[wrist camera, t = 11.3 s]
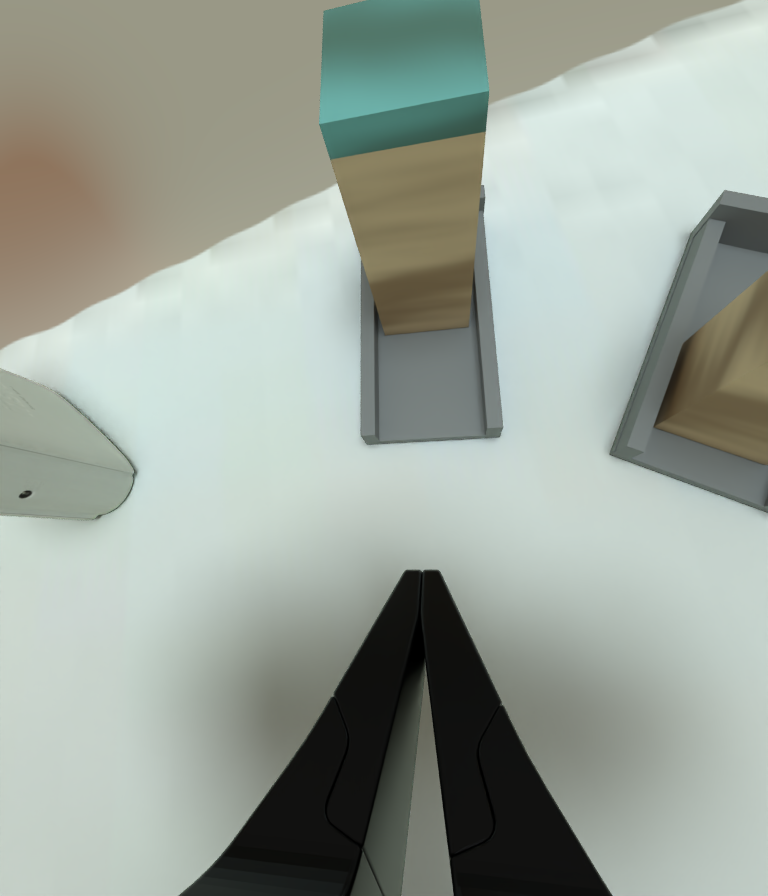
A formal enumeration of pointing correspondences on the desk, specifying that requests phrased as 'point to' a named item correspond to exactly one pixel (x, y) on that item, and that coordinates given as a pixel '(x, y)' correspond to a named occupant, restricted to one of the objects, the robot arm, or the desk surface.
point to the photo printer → (54, 457)
